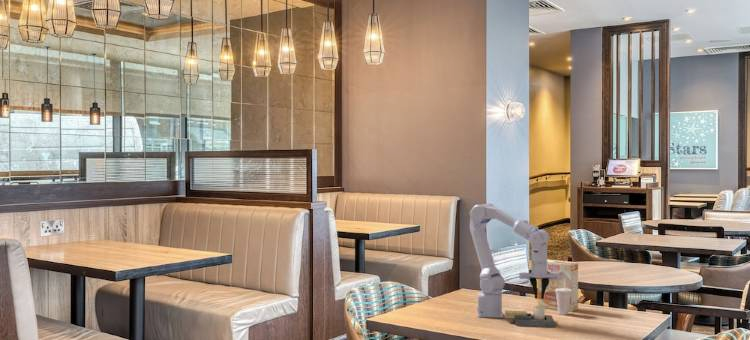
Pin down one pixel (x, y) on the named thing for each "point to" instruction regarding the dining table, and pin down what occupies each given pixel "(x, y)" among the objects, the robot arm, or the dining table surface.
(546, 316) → the jig
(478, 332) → the dining table surface
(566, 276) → the coffeecake box
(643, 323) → the dining table surface
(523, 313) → the shunt bar
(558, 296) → the smoothie
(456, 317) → the dining table surface
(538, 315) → the white capsule cylinder
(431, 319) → the dining table surface
